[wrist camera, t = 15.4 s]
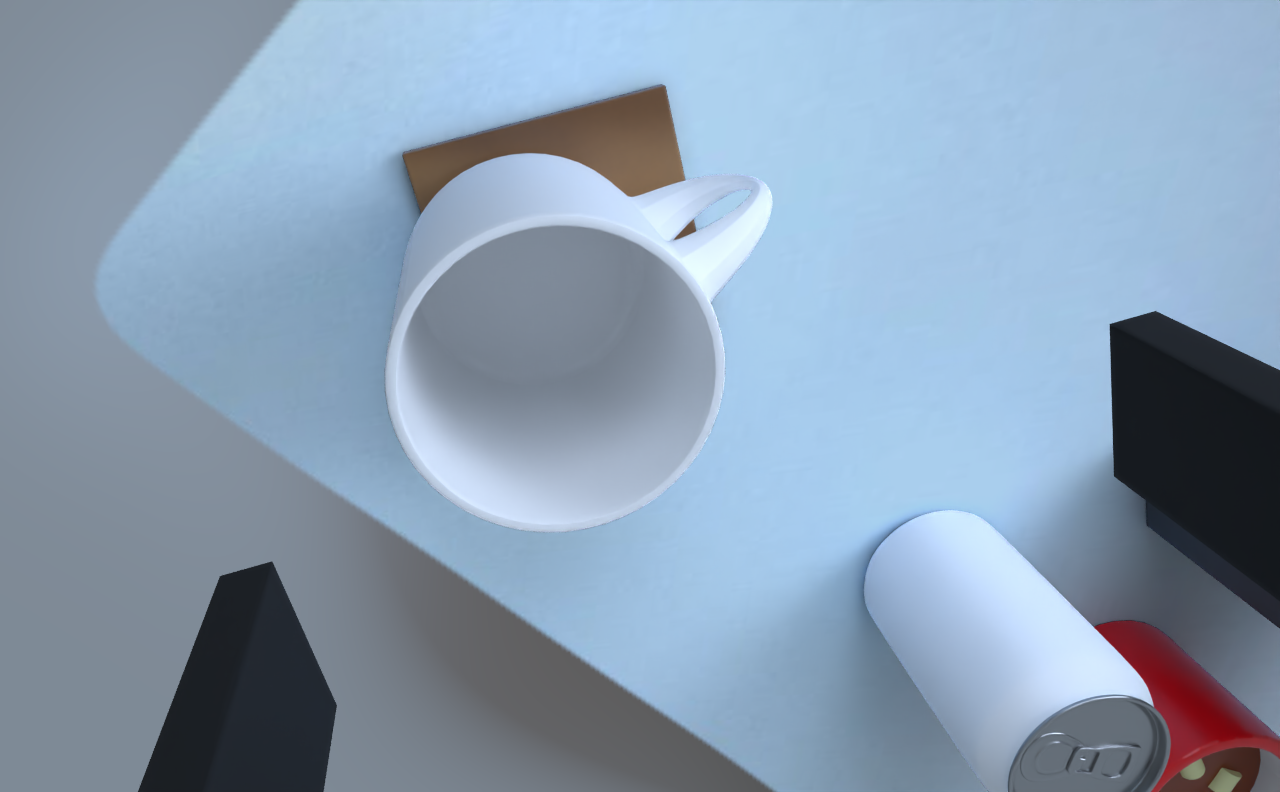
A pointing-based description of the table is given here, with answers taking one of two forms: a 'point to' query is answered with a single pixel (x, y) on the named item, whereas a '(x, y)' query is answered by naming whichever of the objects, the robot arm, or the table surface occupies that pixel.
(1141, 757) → the can
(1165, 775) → the mug
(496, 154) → the coaster
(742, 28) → the table surface
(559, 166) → the mug
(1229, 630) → the table surface
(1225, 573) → the coffee maker
